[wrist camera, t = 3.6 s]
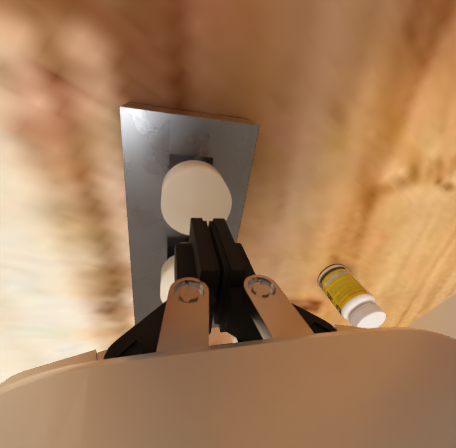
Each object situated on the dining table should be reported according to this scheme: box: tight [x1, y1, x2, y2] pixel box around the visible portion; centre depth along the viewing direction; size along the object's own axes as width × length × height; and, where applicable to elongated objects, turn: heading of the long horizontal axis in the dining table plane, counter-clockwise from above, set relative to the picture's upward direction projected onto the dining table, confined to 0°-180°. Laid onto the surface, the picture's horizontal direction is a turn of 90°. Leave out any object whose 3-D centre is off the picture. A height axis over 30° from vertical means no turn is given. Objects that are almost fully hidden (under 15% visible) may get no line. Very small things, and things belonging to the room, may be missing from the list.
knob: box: [161, 160, 232, 235], centre depth 17 cm, size 4×4×6 cm
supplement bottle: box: [318, 265, 386, 328], centre depth 32 cm, size 5×5×8 cm
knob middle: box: [160, 241, 189, 303], centre depth 21 cm, size 4×4×6 cm
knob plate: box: [120, 102, 259, 328], centre depth 24 cm, size 24×10×4 cm, turn 172°
